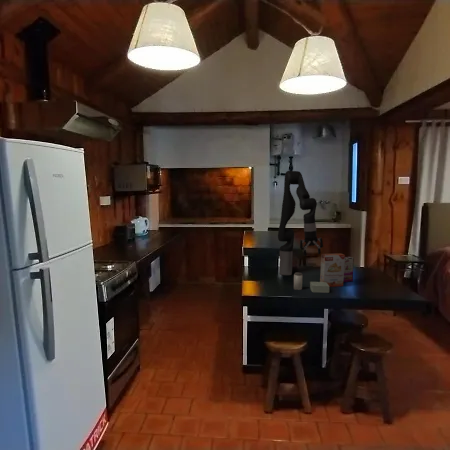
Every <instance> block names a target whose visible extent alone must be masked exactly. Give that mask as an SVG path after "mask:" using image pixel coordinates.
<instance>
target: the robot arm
mask: <svg viewBox="0 0 450 450" xmlns="http://www.w3.org/2000/svg"><path fill="white" fill-rule="evenodd" d="M291 185H297V188H296V191H295V193H296V196H297V198H298V200H299V208H300V209H301V210H303V211H308V210H309V212H306V213H304V214H303V217H302V219H303V231H304V232H303V233H304V239H300V240H299V248H300V250H302V251H303V252H302V253H303V255H304V257H305V256H307V248H308V246H309V247H312V246H313V247H314V246H316V247H317V255H321V254H322V253H321V252H322V251H321V249H322V248H324V242H323V238H322V237H319V238H318V236H317V235H318V233H317V225H316V210H317V206H318V205H317V204H318V202H317V200H316V199H315V198H314V197H311V196H310V193H309V191H308V189H307V188H306V184H305V180H304V178H303V175H302V172H300V171H298V170H287V171H285V173H284V185H283V196H282V204H281V213H280V222H279V226H278V227H279V228H278V231H277V238H278V239H277V240H278V241H279V242H283V243H285V242H286V243H285V244H283V245H280V246H279V263H278V264H279V268H278V269H279V270H278V271H279V272H278V273H279V275H281V276H292V274H293V254H294V253H293V249H294V240H295V231H294V229H293V228H286V227H287V224H288V222H289V221H290V219H291V218H292V217H293V216H294V214H295V213H296V212H295V211H296V205H297V203H296V200H295V198H294V196H293V194H292V192H291ZM318 241H319V244H318V243H317V242H318ZM304 243H305V244H304ZM303 244H304V245H303Z"/></svg>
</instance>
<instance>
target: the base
mask: <svg viewBox="0 0 450 450" xmlns="http://www.w3.org/2000/svg"><path fill="white" fill-rule="evenodd" d="M309 289H310V291H311V292H312V293H325V294H326V293H327V294H328V293H330V287H329V285H328V284H327V283H326V282H320V281H309Z"/></svg>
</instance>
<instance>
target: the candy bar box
mask: <svg viewBox="0 0 450 450" xmlns="http://www.w3.org/2000/svg"><path fill="white" fill-rule="evenodd" d="M354 260H355V257H353V256H345V264H344V280H343V283H348V282H349V283H350V282H353V281H354Z"/></svg>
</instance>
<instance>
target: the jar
mask: <svg viewBox="0 0 450 450" xmlns="http://www.w3.org/2000/svg"><path fill="white" fill-rule="evenodd" d="M293 290H296V291H302V290H303V273H302V272H294V274H293Z"/></svg>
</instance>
